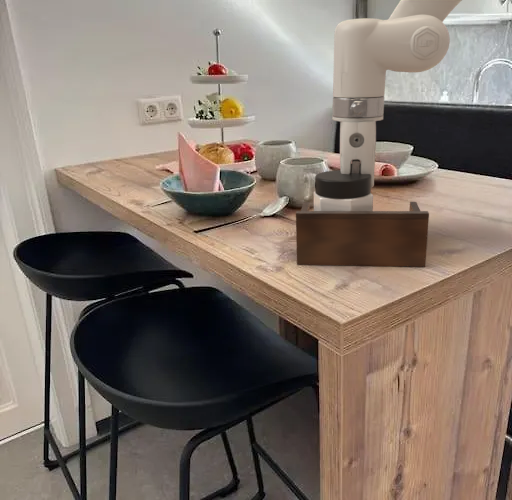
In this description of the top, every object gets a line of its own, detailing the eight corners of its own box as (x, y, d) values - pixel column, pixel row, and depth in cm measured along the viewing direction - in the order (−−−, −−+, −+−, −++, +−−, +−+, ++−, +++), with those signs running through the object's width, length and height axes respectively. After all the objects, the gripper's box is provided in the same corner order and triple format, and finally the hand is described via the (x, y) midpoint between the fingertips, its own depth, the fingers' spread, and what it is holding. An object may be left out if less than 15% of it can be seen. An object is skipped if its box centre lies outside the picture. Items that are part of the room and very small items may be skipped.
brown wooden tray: (296, 264, 73) (295, 213, 70) (304, 236, 85) (303, 191, 82) (425, 267, 70) (429, 213, 67) (414, 237, 82) (417, 190, 79)
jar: (343, 239, 83) (344, 167, 78) (382, 252, 76) (385, 174, 72) (302, 252, 78) (301, 176, 74) (339, 266, 71) (340, 184, 67)
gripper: (386, 113, 67) (378, 242, 74) (381, 105, 81) (375, 214, 87) (329, 114, 69) (327, 240, 75) (334, 106, 82) (332, 213, 89)
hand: (353, 226), depth 81 cm, fingers closed
